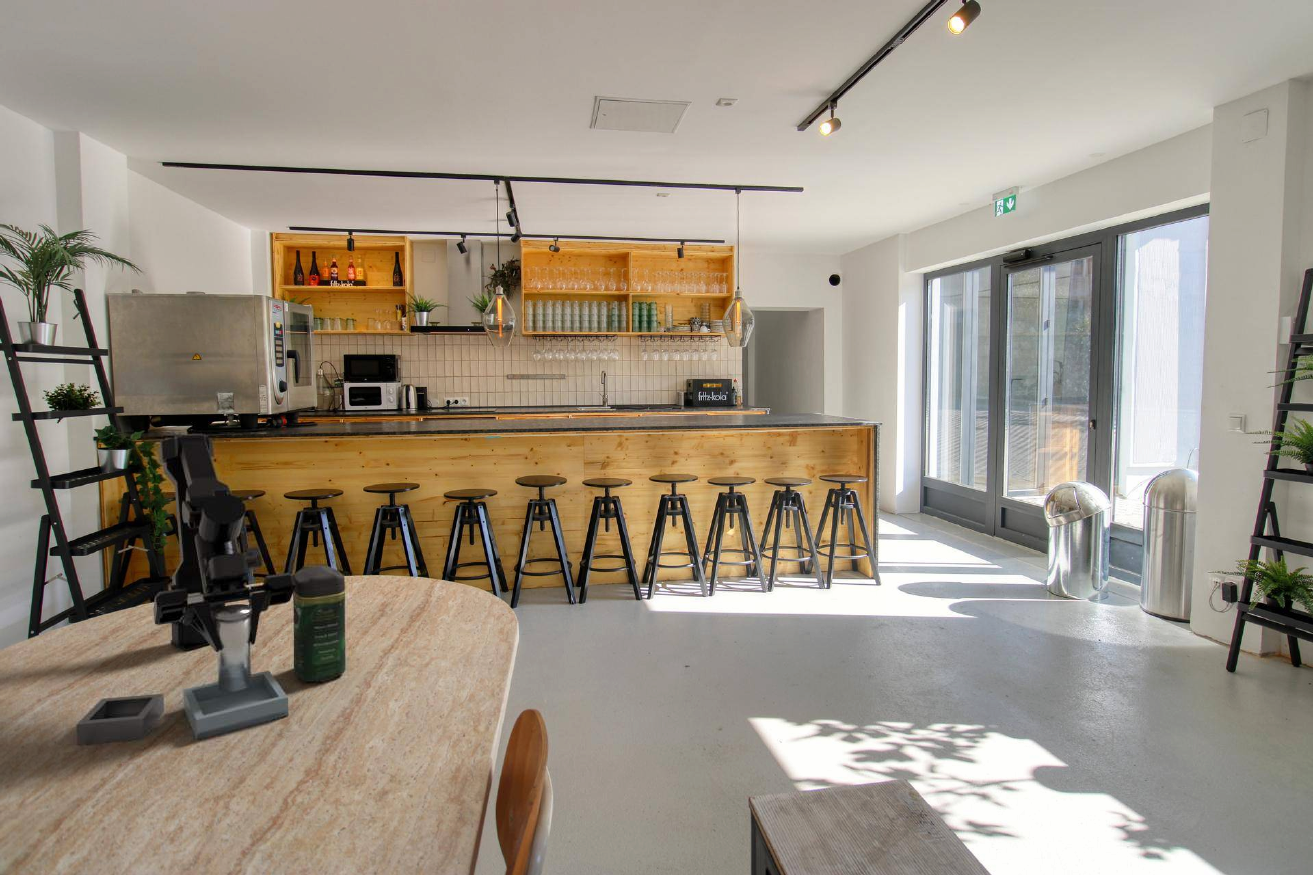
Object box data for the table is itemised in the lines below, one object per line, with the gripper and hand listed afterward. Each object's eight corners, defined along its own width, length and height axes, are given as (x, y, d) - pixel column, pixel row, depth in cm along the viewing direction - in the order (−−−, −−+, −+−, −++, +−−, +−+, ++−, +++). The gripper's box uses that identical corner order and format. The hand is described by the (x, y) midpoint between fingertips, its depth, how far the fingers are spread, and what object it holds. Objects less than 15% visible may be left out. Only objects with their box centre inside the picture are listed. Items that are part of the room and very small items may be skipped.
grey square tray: (102, 717, 110) (101, 698, 110) (164, 712, 112) (163, 693, 112) (77, 744, 102) (76, 724, 102) (143, 738, 104) (143, 718, 104)
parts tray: (183, 708, 114) (183, 689, 113) (269, 687, 121) (268, 670, 121) (197, 740, 105) (196, 720, 104) (288, 715, 112) (288, 697, 112)
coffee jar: (351, 677, 126) (350, 572, 125) (301, 688, 122) (299, 579, 120) (337, 657, 134) (336, 558, 132) (289, 667, 129) (287, 565, 128)
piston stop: (232, 676, 115) (230, 602, 114) (260, 679, 115) (259, 605, 113) (208, 690, 110) (205, 613, 109) (238, 694, 110) (236, 616, 108)
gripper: (152, 539, 107) (166, 635, 100) (291, 524, 119) (312, 609, 112) (148, 578, 114) (160, 670, 107) (279, 560, 126) (298, 642, 119)
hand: (235, 646), depth 111 cm, fingers closed on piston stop, 4 cm apart
